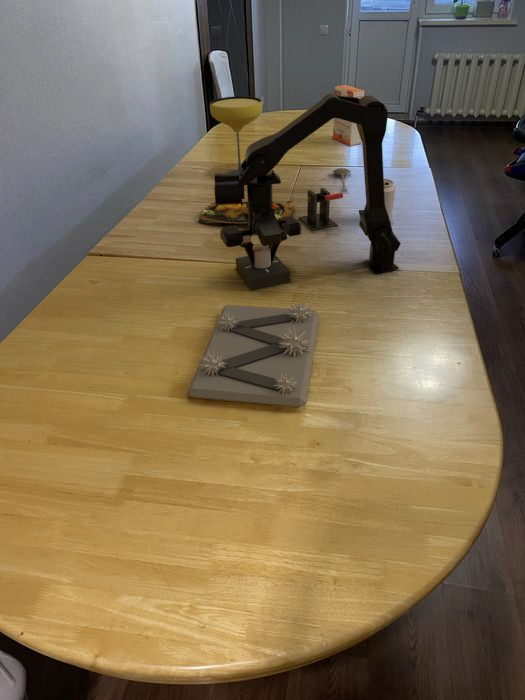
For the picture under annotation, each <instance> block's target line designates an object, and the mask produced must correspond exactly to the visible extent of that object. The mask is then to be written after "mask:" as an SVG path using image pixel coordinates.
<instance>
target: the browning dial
mask: <svg viewBox="0 0 525 700" xmlns="http://www.w3.org/2000/svg"><path fill="white" fill-rule="evenodd" d="M253 254H254V267H256V268H261V269H262V268H267V267H269V266H270V265H271V249H270V248H269V247H268V246H263V245H257V246H255V247H254V246H253Z"/></svg>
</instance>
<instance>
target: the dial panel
mask: <svg viewBox="0 0 525 700" xmlns="http://www.w3.org/2000/svg"><path fill="white" fill-rule="evenodd" d="M235 268H236V271H237V272H238V273H239V275H240V276H241V277H242V279H243V281H244V282H245V283H246V285H247V286H248V288H249V289H250V291H256V290H260V289H264V288H270V287H273V286H278V285H283V284H288V283H290V282H291V271H290V269H289V268H288V267H287V266H286V265H285V264H284V263H283V262H282V261H281V259H280V258H279V257H278V255H276V254H275V256H274V259H273V262H271V265H270V266H269V267H267V268H262V269H261V268H256V267H254V266H252V264H251V262H250V260H249V258H248V255H246V256H240V257H236V258H235Z"/></svg>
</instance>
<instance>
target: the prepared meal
mask: <svg viewBox="0 0 525 700" xmlns="http://www.w3.org/2000/svg"><path fill="white" fill-rule="evenodd" d="M272 202H273V208H274V212H275V217H276V220H278V219H279V218H282V217H288V216H292V215H293V212H294V210H295V208H296V207H297V206H296V205H295V204H291V203H293V202H294V200H291V201H290V200H289V201H288V200H286V201H285V200H272ZM246 204H248V201H242V202H240V204H231V205H216V204H215V202H212V203H211V204H210V205H208V206H206V207H205V208H204V209H203V210H202V212H201V213H200V215H199V217H198V223H203V224H234V225H247V220H248V209H247V206H246Z"/></svg>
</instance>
